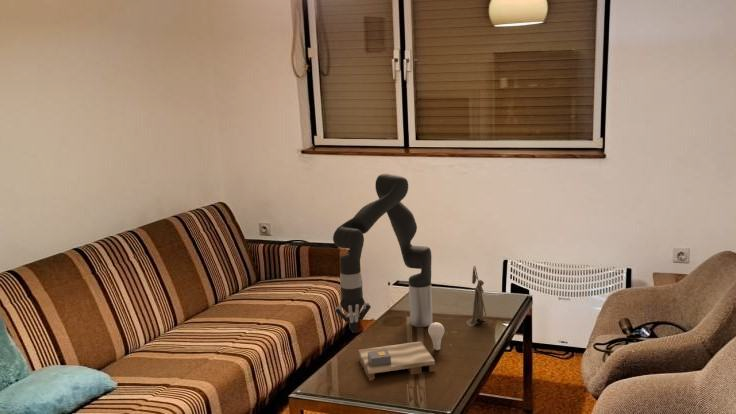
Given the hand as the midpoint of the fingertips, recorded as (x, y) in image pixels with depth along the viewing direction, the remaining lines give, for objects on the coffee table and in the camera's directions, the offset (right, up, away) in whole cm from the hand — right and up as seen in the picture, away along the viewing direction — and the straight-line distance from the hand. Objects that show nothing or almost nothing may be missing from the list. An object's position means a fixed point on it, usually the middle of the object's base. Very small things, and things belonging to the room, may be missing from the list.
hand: (354, 331), depth 250 cm
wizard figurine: (+50, -5, +46) cm, 68 cm away
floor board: (+15, -14, +10) cm, 23 cm away
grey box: (+9, -12, +4) cm, 15 cm away
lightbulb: (+31, -11, +22) cm, 39 cm away
